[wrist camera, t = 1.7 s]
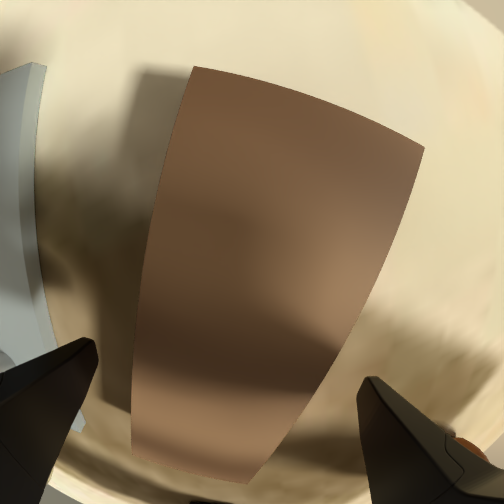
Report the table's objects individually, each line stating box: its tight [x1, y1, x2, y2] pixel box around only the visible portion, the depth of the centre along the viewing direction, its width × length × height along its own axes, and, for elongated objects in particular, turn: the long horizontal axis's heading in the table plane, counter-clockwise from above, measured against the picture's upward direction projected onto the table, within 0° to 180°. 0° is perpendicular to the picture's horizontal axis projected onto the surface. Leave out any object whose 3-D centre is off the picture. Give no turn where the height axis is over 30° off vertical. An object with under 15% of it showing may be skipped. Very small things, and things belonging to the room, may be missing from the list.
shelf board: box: [131, 66, 425, 484], centre depth 10 cm, size 16×6×3 cm, turn 163°
